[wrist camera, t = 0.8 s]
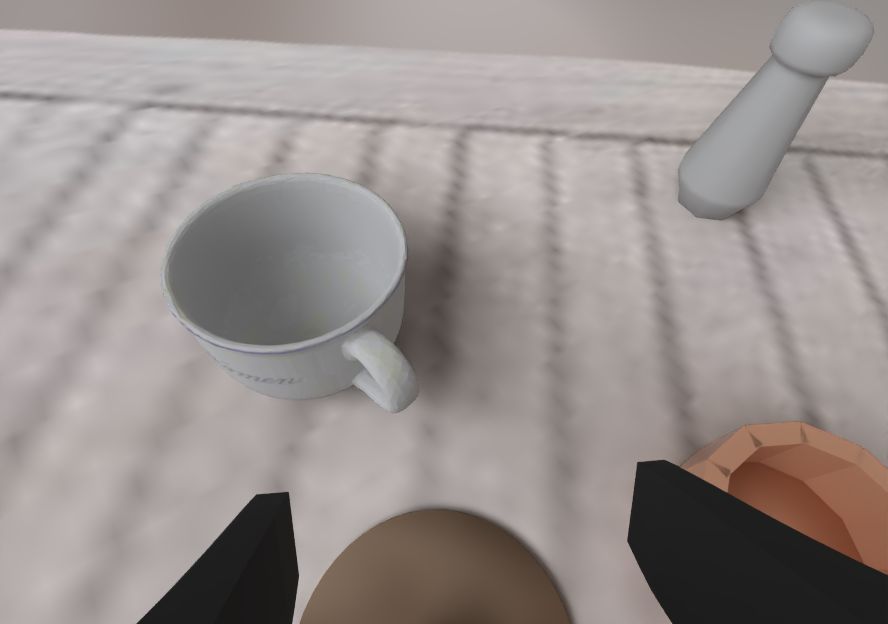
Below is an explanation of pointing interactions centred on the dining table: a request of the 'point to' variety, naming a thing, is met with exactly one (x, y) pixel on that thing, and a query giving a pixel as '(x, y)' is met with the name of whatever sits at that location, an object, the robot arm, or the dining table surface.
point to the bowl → (805, 484)
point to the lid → (435, 576)
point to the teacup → (296, 287)
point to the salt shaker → (771, 108)
